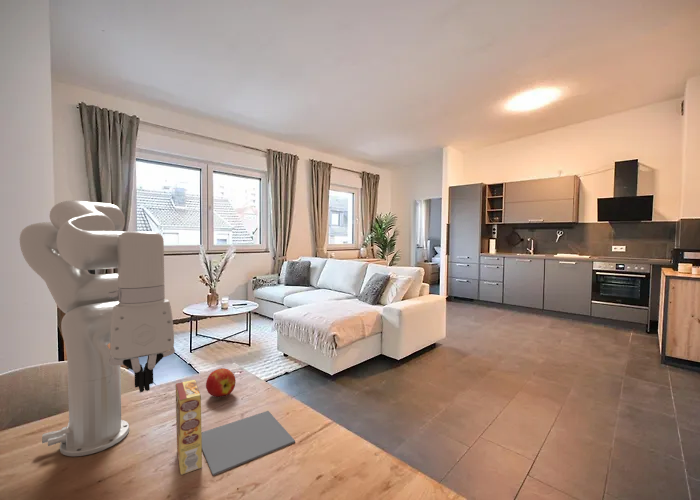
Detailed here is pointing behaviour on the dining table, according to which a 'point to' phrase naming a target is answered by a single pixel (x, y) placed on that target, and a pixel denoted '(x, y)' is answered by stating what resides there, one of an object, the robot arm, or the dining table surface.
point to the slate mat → (243, 441)
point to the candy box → (188, 426)
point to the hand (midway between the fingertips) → (144, 388)
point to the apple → (220, 383)
